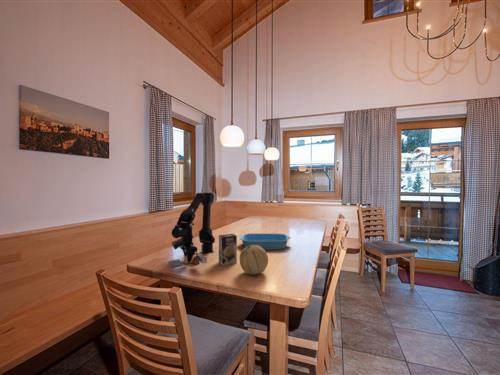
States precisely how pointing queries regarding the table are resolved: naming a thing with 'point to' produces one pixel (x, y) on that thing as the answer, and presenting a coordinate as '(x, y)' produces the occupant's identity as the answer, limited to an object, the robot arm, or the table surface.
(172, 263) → the mat
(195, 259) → the clamp blocks
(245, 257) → the cantaloupe
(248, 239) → the casserole dish
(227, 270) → the table surface
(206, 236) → the robot arm
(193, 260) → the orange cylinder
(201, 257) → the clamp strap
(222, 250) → the coffee box
